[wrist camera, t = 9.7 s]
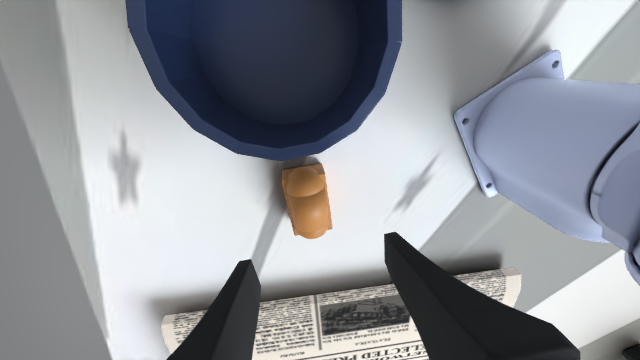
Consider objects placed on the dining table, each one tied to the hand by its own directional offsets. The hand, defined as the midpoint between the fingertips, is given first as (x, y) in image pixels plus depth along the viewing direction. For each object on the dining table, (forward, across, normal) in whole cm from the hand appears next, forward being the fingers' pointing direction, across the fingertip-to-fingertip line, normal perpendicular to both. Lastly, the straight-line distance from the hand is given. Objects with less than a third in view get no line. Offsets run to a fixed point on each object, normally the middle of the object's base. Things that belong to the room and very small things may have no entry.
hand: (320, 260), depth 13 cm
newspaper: (+8, -1, +22) cm, 23 cm away
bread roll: (+8, 0, 0) cm, 8 cm away
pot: (+8, 0, -11) cm, 13 cm away
